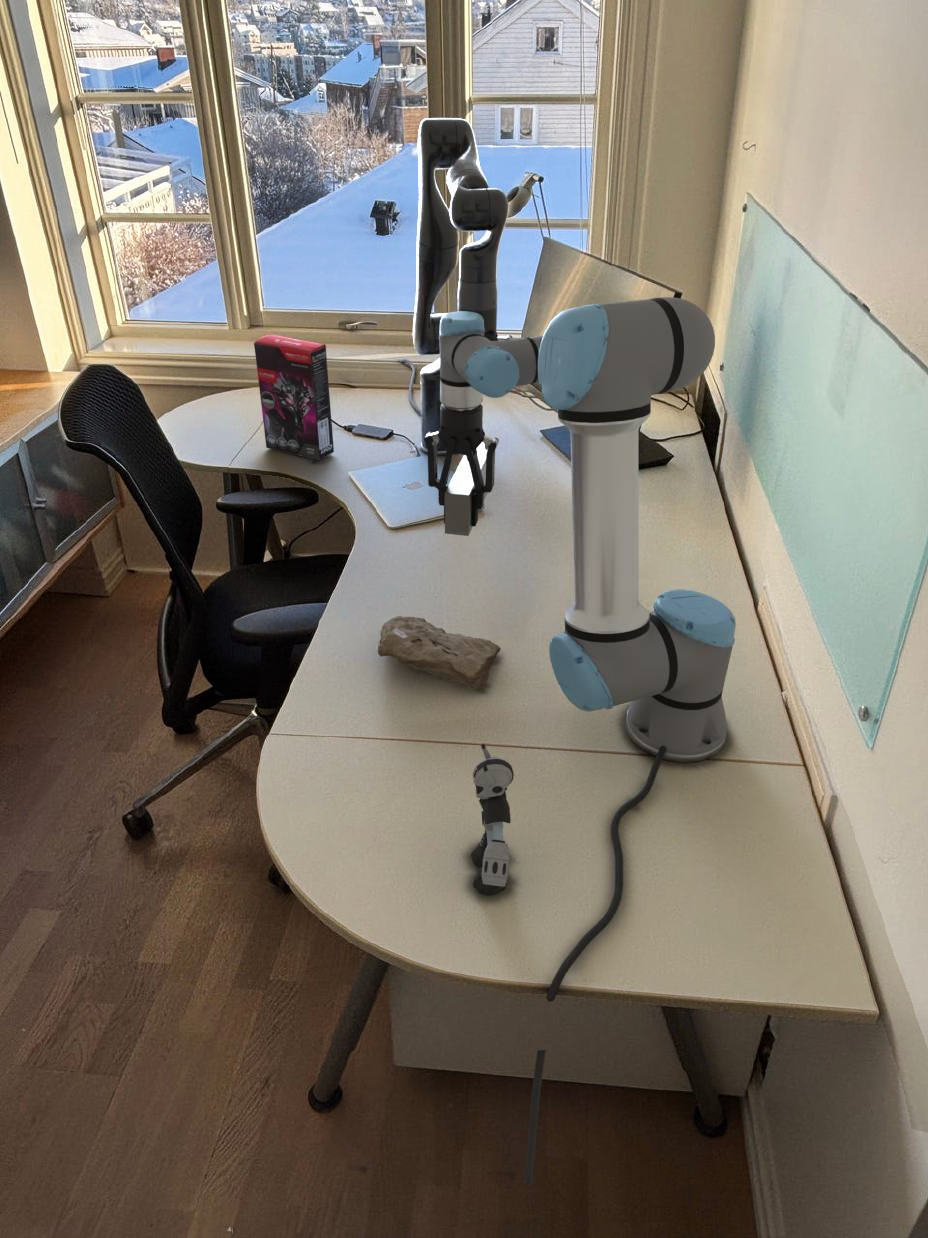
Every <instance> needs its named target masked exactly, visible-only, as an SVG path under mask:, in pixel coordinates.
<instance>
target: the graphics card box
mask: <svg viewBox="0 0 928 1238" xmlns="http://www.w3.org/2000/svg"><path fill="white" fill-rule="evenodd" d="M253 346H254V347H253V349H254V355H255V362H256V370H257V371H256V372H257V379H258V388H259V397H260V405H261V415H262V423H263V431H264V439H265V448H266V449H270V450H274V451H279V452H281V453H282V452H283V453H287V454H292V455H295V456H300V457H303V458H308V459H312V460H317V461H320V460H323V459H324V458H326V457H328V456H330V455H332V454H333V453H334V452H335V448H334V435H333V422H332V421H333V420H332V411H331V410H332V409H331V397H330V384H329V371H328V370H329V368H328V357H327V345H326V343H318V342H313V341H308V340H302V339H297V338H291V337H287V336H282V335H276V334H271V333H269V334H266V335H263V336H261V337H259V338H258V339H256V340H255V341H253Z"/></svg>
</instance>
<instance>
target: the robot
mask: <svg viewBox="0 0 928 1238" xmlns="http://www.w3.org/2000/svg"><path fill="white" fill-rule="evenodd" d="M480 748H481V750H482V753H483V755H484V759H483V760H481V761H480V762H479V763H478V764H477V765H476V766H474V767H475V768H474V769H473V772H472V778H473V784H474V786H475V797H476V798H477V799H478V802H479V805H480V806H481V809H482V810H481V823H482V826H483V827H484V833H483V834H482V837H481V838H480V841H479V842H478V844H477V845H476V847H475V848H474V849H473V850H472V852H471V854H470V857H471V859H472V862H473V864H474V865H475V866H477V867H478V868H479V869H478V870H477V871H476V874H475V876H474V880H473V883H472V886H473V887H474V888H475V890H476V891H477V892H478V893H479V894H482V895H487V896H490V895H496V894H497V893H500V892H502V891H504V890H506V887H507V883H508V877H509V869H510V864H511V863H510V857H511V855H510V850H509V846H508V843H507V842H506V841H505V839H504V823H506V824H511V820H512V819H511V807H510V804H509V801H508V799H507V792H506V791H508V787H509V786H510V784H512V782H513V781H514V776H515V775H514V769H513V766H512V765H511V764H510V762H508V761H506V760H505V759H503V758H502V757H499V756H491V753H490V752H489V750H488V748H487V746H486V745H485V743H481V745H480Z"/></svg>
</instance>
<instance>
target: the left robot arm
mask: <svg viewBox="0 0 928 1238" xmlns="http://www.w3.org/2000/svg"><path fill="white" fill-rule="evenodd" d="M417 135H418V137H417V152H418V153H417V157H418V160H417V161H418V194H419V195H418V218H417V235H416V292H415V303H414V304H415V305H414V314H413V324H412V342H413V348H414V350H415V352H416V354H417V355H419V356H427V357H428V356H440V339H439V335H440V320H441V318H442V317H443V316H444V315H445V314H448V313H449V312H444V313H432V311H433V308H434V304H435V302H436V301H437V298H438V296H439V294H440V292H441V291H442V290H443V288H444V287H445V285H446V284H447V283H448V281H449V280H450V279H451V277H452V275H453V274H454V272H455V270H456V268H457V266H458V286H457V297H456V303H457V312H458V311H468V312H474V313H477V314H479V315H481V316H482V317H483V320H484V329H485V332H484V337H486V338H487V339H489V340H490V341H500V340H508V339H514V338H513V336H512V335H511V334H508V335H506V336H499V335H498V331H497V325H498V324H497V321H498V283H497V282H498V281H497V280H498V279H497V277H498V276H497V275H498V273H497V272H498V255H499V249H500V244H501V241H502V237H503V233H504V230H505V227H506V224H507V220H508V216H509V210H510V208H509V200H508V197H507V194H506V193H504V191H503V190H501V189H500V188H496V187H495V188H494V187H493V188H490V187H489V186H490V185H489V183H488V181H487V178H486V176H485V175H484V173H483V171H482V168H481V165H480V159H479V152H478V148H477V143H476V137H475V133H474V130H473V127H472V125H471V123H470V122H469V121H468V120H466V119H463V118H457V117H453V118H452V117H431V118H429V117H428V118H424V119H422V120H421V122H420V124H419V129H418V134H417ZM436 170H447V173H446V184H447V189H448V191H449V193H450V196H451V199H450V205H449V208H448V206H447V205H446V203H445V200H444V198H443V197H442V195H441V192H440V190H439V188H438V185H437V182H436V174H435V173H436ZM460 232H465V233H466V232H467V233H469V232H485V234H484V236H483V237H482V238H481V239H480V240H478V241H474V242H471V243H468V244H465V245H462V247H461V248H460V238H461V237H460V235H461V234H460ZM402 360H403V361H402ZM404 361H405V362H404ZM399 363H400V364H403V363H406V364H407V365H408V366H409V368H411V370H412V372H411V373H412V374H411V379H410V381H409V388H408V398H409V399H408V400H409V401H410V404H411V406H412V407H413V409H414V410H415V411H416V412H417V413H418V414H419V415H420V431H421V432H420V436H421V437H420V439H421V442H420V449H421V450H422V451H423V452H424V453H426V454H428V449H427V447H426V444H425V441H424V438H425V437H426V435H427V434H428V432H432V433H435V432H438V431H439V429H440V426H441V425H440V406H441V404H442V403H441V402H440V357H439V358H437V359H436V360H435V361H434V362H432V363H429V364H427V365H426V366H424V367H422V369H421V371H420V373H419V381H420V384H419V385H420V408H419V407H418V405H416V403H415V400H414V398H413V388H414V383H415V378H416V373H417V372H416V371H417V370H416V367H415V365H413V363H412V362H411V361H410V360H409V359H407V358H402V359H400V361H399ZM438 440H439V441H438V443H437V456H440V455H441V456H444V455H446V451H447V448H446V447H445V446H444V444H443V443H442V441H441V440H440V438H439V439H438Z"/></svg>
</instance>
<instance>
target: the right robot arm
mask: <svg viewBox="0 0 928 1238" xmlns="http://www.w3.org/2000/svg"><path fill="white" fill-rule="evenodd" d="M447 313H448V314H445V315H444V316H443V317H442V318H441V320H440V335H439V339H440V355H439V358H440V402H441V403H442V404H441V406H440V425H441V426H440V429H439V431H438V432H435V433H432V432H428V434H427V435H426V437H425V438H424V441H425V444H426V447H427V449H428V453H427V483H428V486H429V487H430V488H435V489H437V491H438V492H437V493H438V505H439V506H441V507H442V506H443V524H445V491H446V489H447V487H448V485H447V484H449V483H448V481H449V477H450V475H451V474H450V473H451V469H452V465H453V462H454V458H455V456H457V455H462V456H464V455H466V457H467V460H468V462H469V466H470V470H471V474H472V478H473V483H474V487H475V489H474V491H473V493H472V521H471V526H473V527H477V524H478V521H479V513H478V509H480V510H482V509H483V507H484V504H485V500H484V493H485V492H488V493H491V492H492V491H493V488H494V486H495V475H496V474H495V472H496V471H495V470H496V449H497V447H498V445H499V442H500V439H499V437H493V438H492V437H489V436H488V435H486V432H485V431H484V427H483V423H484V422H483V421H484V420H483V415H484V414H483V413H484V409H483V408H484V407H483V404H482V403H483V402H484V396H486V397H488V398H492V399H496V398H497V399H499V398H503V397H504V396H506V395H508V394H509V393H510V392H512V391H513V390H514V389H515V388H516V387H521V386H528V385H534V384H539V386H540V387H541V394H542V397H543V399H544V401H545V402H546V403H547V405H548V406H550V408H553V409H555V410H557V420H558V421H559V422H560V423H561V424H562V425H564V427H566V428H567V430H568V431H569V435H570V438H569V439H570V469H571V502H572V503H571V504H572V537H573V539H572V541H573V571H574V572H573V573H574V575H573V576H574V577H573V578H574V603H573V604H572V605H571V606H570V607H569V608H568V609H567V610H566V611H565V613H564V631H561V632H558V633H557V634H555V635H553V636H552V638H551V641H550V642H549V647H548V648H549V649H548V650H549V653H548V654H549V658H550V664H551V667H552V671H553V674H554V677H555V679H556V682H557V684H558V685H559V687H560V690H561V691H562V693H563V694H564V696H565V697H566V699H567V700H568V701H569V703H570V704H571V705H573V706H574V707H575V708H577V709H578V710H580V711H583V712H587V713H588V712H595V711H600V710H605V709H606V710H611V709H613V707H616V706H619V705H624V704H628V703H630V704H629V706H628V708H627V712H626V719H625V728H626V732H627V734H628V736H629V738H630V739H631V741H632V742H634V744H636V745H637V746H638V747H639V748H640V749H641V750H643V751H645V752H646V753H648V754H650V755H651V756H654V757H655V759H654V761H653V764H652V766H651V769H650V771H649V774H648V776H647V780H646V782H645V784H644V786H643V788H642V789H641V790H640V791H639V792H638V794H636V795H635V796H633V797H632V798H631V799H630V800H628V801H627V802H625V803H624V804H622V805H621V806H620V807H619V808H618V809H617V810H616V812H615V814H614V816H613V818H612V820H611V824H610V835H611V842H612V847H613V852H614V862H615V863H614V866H615V867H614V892H613V896H612V900H611V903H610V905H609V907H608V909H607V911H606V912H605V914H604V915H603V916H602V918H601V919H599V921H597V923H596V924H595V925H593V927H591V928H590V929H589V930H588V931H586V933H585V935H583V936H582V937H581V939H580V940H578V942H577V943H576V945H575V946H574V947H573V949H572V950H571V951H570V953H568V955H567V956H566V957H565V959H564V960H563V961H562V963H561V965H560V966H559V968H558V970H557V972H556V973H555V975H554V977H553V979H552V981H551V984H550V986H549V988H548V991H547V994H546V997H545V998H546V1001H547V1002H549V1003H551V1002H554V1001H555V999H556V997H557V994H558V992H559V990H560V987H561V985H562V982H563V980H564V978H565V977H566V974H567V973H568V971H569V970H570V968H571V967H572V966H573V964H574V963H575V962H576V961H577V959H578V958H579V957H580V956H581V954H582V952H584V950H585V948H587V947H588V945H589V944H590V943H591V942H592V941H593V940H594V939H595V938H596V937H597V936H598V935H599V934H600V933H601V932H602V931H603V930H604V929H605V928H607V926H608V925H609V924H610V922H612V920H613V918H614V916H615V915H616V913H617V912H618V909H619V908H620V907H619V906H620V903H621V900H622V896H623V890H624V855H623V848H622V845H621V844H622V843H621V840H620V835H619V827H620V826H619V825H620V822H621V820H622V818H623V817H624V816H625V814H626V813H627V812H628V811H630V810H631V809H633V808H634V807H635V806H638V804H640V803H641V802H642V801H643V800H645V798H646V797H647V796H648V795H649V793H650V792H651V789H652V787H653V785H654V784H655V781H656V777H657V775H658V771H659V769H660V767H661V765H662V761H663V760H666V761H670V762H675V763H694V762H700V761H703V760H706V759H709V758H711V757H714V755H716V754H718V752H720V751H721V750H722V748H723V747H724V744H725V743H726V740H727V739H726V738H727V733H728V721H727V716H726V712H725V708H724V707H725V706H724V701H723V692H724V686H725V682H726V678H727V674H728V669H729V664H730V659H731V654H732V652H733V647H734V644H735V642H736V638H735V632H736V627H737V626H736V617H735V616H734V614H733V612H732V611H731V609H730V608H729V607H728V606H727V605H726V604H724V603H723V602H722V601H720V600H719V599H717V598H715V597H712V596H710V595H708V594H706V593H703V592H699V591H695V590H690V589H671V590H666V591H664V592H662V593H660V594H659V595H658V596H657V597H656V600H655V601H654V602H653V610H652V611H650V610H648V609H647V607H645V606H644V605H643V604H642V603H641V602H640V601H639V429H640V427H641V426H642V425H643V424H644V423H645V421H647V420H648V419H649V418H650V416H651V414H652V410H651V409H652V403H651V402H652V396H654V395H655V396H656V395H661V394H666V393H671V392H674V391H678V390H682V389H683V388H685V387H687V386H689V385H691V384H693V383H694V382H695V381H697V380H698V379H699V378H700V377H701V376H702V374H704V372H705V371H706V370H707V369H708V367H709V365H710V364H711V361H712V360H713V356H714V354H715V349H716V348H715V347H716V335H715V329H714V326H713V324H712V322H711V319H710V318H709V316H708V315H707V313H705V311H704V310H703V309H702V308H701V307H699V306H698V305H696V304H695V303H694V302H692V301H689V300H686V299H684V298H679V297H670V296H669V297H668V296H664V297H663V296H662V297H654V298H653V297H652V298H647V299H646V298H645V299H636V300H626V301H616V302H605V303H604V302H603V303H592V304H586V305H581V306H577V307H576V306H575V307H572V308H567V309H564V310H562V311H560V312H559V313H557V314H556V315H554V317H553V318H552V319H551V320H550V322H549V324H548V325H547V328H545V331H544V333H543V335H536V336H529V337H518V338H517V337H516V338H513V339H508V340H500V341H490V340H489V339H487V338H486V337H484V332H485V329H484V320H483V317H482V316H481V315H479V314H477V313H474V312H468V311H458V310H457V311H451V312H447ZM439 438H440V440H441V441H442V443H443V444H444V446H445V447H446V448H447V451H446V454H445V456H444V461H443V465H442V469H441V473H440V477H438V476H439V475H438V473H439V472H438V455H437V443H438V441H439V440H438V439H439ZM482 442H483V443H484V444H485V449H486V450H488V451H487V454H486V483H485V484H484V482H483V477H482V473H481V469H480V464H479V460H478V455H477V454H478V453H477V448H478V447H479V445H480V444H481V443H482ZM488 493H487V494H488ZM649 611H650V612H649ZM546 1052H547V1050H546V1049H538V1050H537V1051H536V1058H535V1063H534V1064H535V1065H534V1072H533V1080H532V1089H531V1099H530V1109H529V1110H530V1111H529V1123H528V1135H527V1148H526V1149H527V1150H526V1160H525V1161H526V1162H525V1172H524V1181H523V1183H524V1186H526V1187H530V1186H532V1182H533V1174H534V1173H533V1172H534V1164H535V1154H536V1141H537V1129H538V1119H539V1109H540V1099H541V1089H542V1081H543V1073H544V1067H545V1060H546V1059H545V1058H546Z"/></svg>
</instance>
